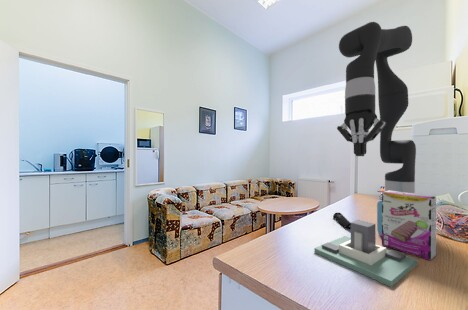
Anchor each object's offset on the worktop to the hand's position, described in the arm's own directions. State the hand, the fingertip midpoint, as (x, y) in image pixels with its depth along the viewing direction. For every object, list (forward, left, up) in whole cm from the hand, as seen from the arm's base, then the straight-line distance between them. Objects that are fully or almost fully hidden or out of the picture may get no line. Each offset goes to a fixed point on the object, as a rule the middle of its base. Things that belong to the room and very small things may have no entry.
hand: (359, 156), depth 59 cm
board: (+5, +3, -27) cm, 28 cm away
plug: (+5, +3, -26) cm, 26 cm away
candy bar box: (-10, +8, -27) cm, 30 cm away
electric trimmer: (-19, -15, -28) cm, 36 cm away
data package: (-18, +4, -27) cm, 33 cm away
